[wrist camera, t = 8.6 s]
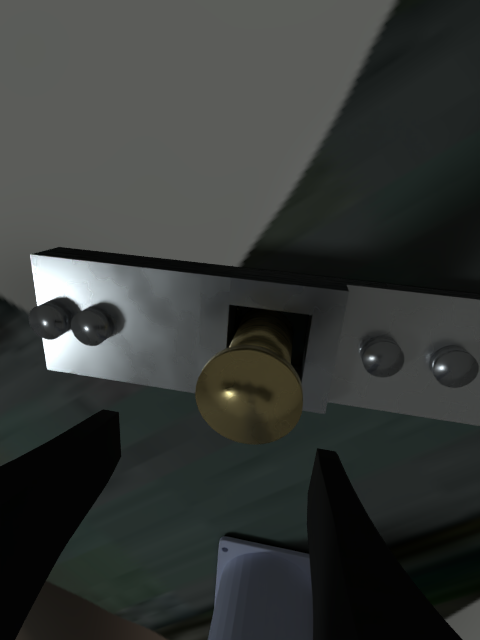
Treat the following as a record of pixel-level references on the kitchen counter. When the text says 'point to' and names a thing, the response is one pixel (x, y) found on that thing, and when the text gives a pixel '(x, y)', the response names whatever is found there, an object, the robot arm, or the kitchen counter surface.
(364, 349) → the square window plate
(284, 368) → the pin
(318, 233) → the kitchen counter surface
